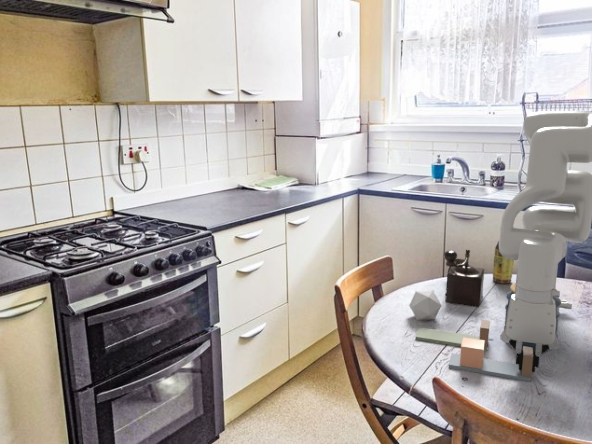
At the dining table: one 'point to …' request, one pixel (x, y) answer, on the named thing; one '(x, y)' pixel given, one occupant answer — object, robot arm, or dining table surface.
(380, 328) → the dining table surface
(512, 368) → the cargo strip
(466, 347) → the terracotta block
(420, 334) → the empty strip
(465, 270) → the manual coffee grinder
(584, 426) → the dining table surface
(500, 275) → the sauce bottle
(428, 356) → the dining table surface
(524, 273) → the robot arm
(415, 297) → the die
